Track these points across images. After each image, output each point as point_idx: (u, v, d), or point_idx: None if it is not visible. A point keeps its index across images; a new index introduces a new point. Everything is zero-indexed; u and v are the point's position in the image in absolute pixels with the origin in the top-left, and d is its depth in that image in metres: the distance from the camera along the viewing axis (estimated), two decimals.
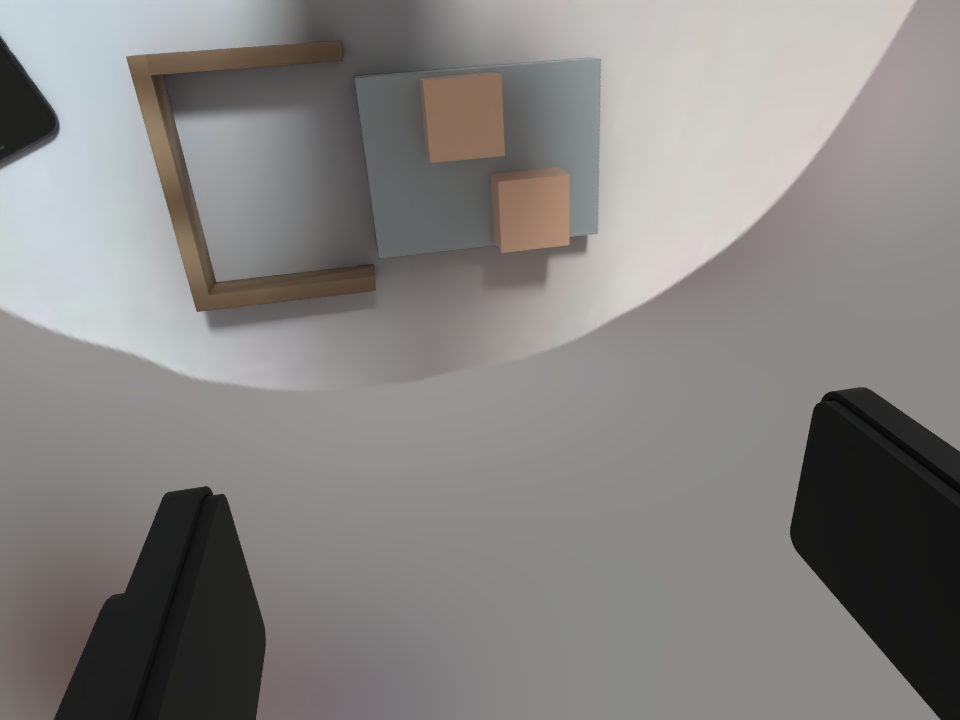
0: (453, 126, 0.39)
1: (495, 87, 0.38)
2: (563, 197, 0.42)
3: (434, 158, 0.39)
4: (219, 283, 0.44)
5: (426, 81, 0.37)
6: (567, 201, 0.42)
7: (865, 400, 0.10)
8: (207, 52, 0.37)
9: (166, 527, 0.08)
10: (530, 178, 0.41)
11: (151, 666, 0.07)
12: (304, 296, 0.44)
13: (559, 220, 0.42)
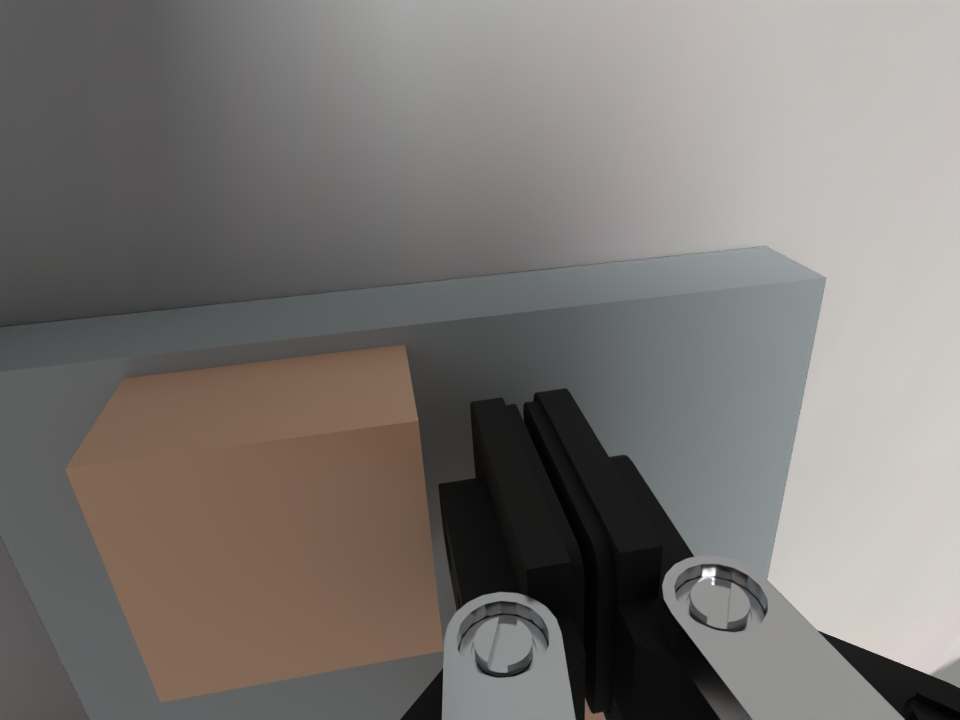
0: (231, 595, 0.10)
1: (395, 464, 0.09)
2: None
3: (173, 690, 0.10)
4: None
5: (82, 470, 0.08)
6: None
7: (555, 400, 0.10)
8: None
9: (493, 424, 0.10)
10: None
11: None
12: None
13: None
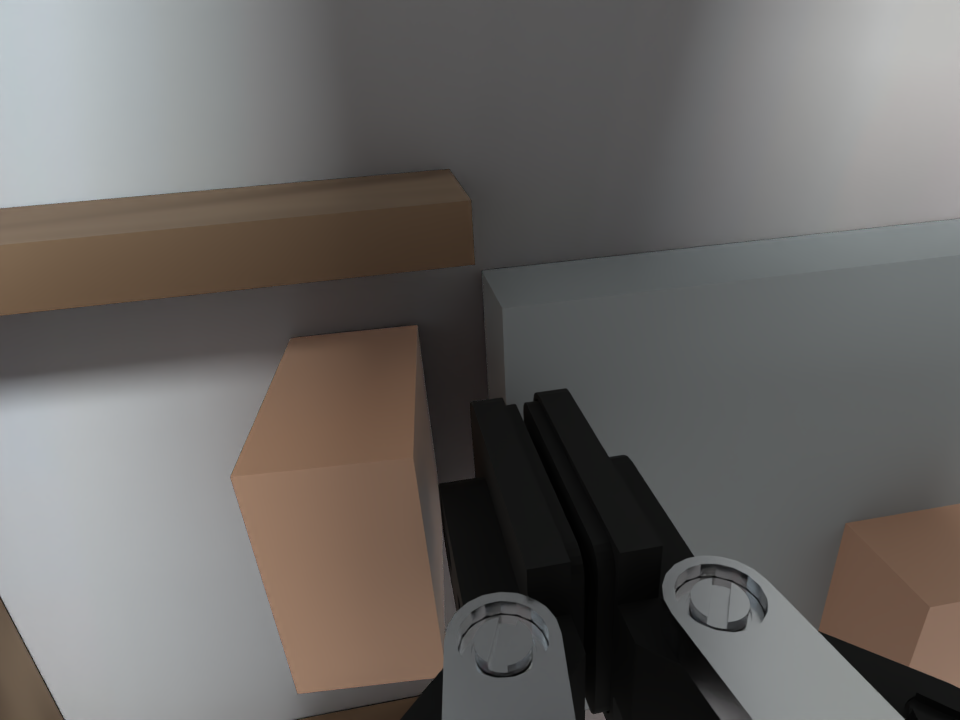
0: None
1: None
2: None
3: None
4: None
5: (288, 344, 0.13)
6: None
7: (556, 400, 0.10)
8: None
9: (492, 424, 0.10)
10: None
11: (549, 513, 0.08)
12: None
13: None
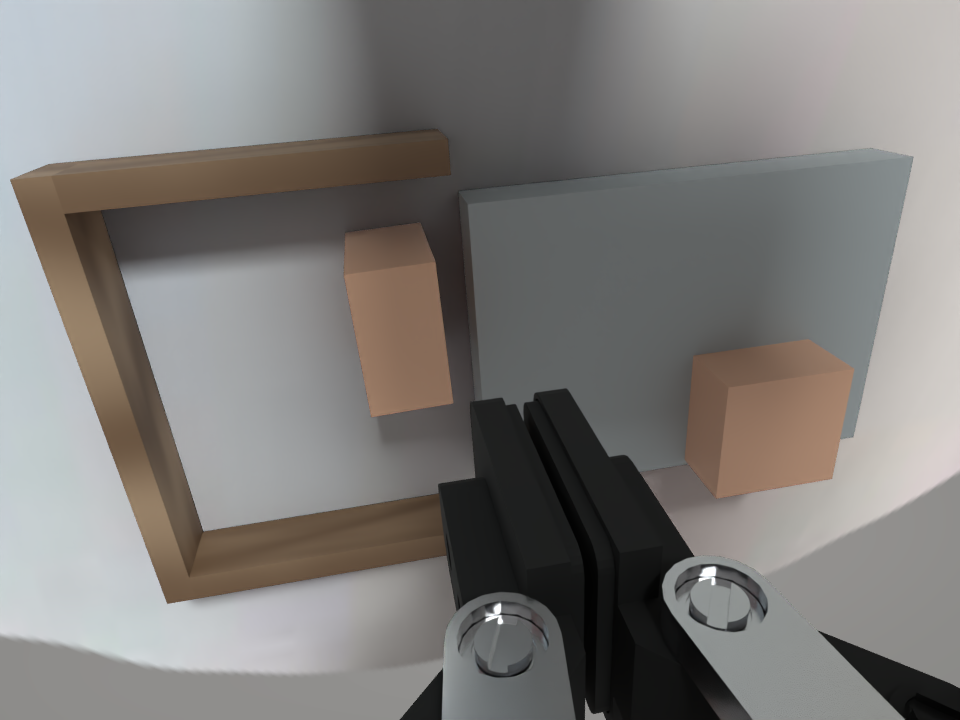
0: None
1: None
2: (836, 405, 0.23)
3: None
4: (208, 535, 0.26)
5: (345, 235, 0.22)
6: (842, 411, 0.23)
7: (556, 400, 0.10)
8: (180, 167, 0.18)
9: (492, 424, 0.10)
10: (784, 377, 0.22)
11: (549, 513, 0.08)
12: (358, 566, 0.25)
13: (822, 442, 0.23)
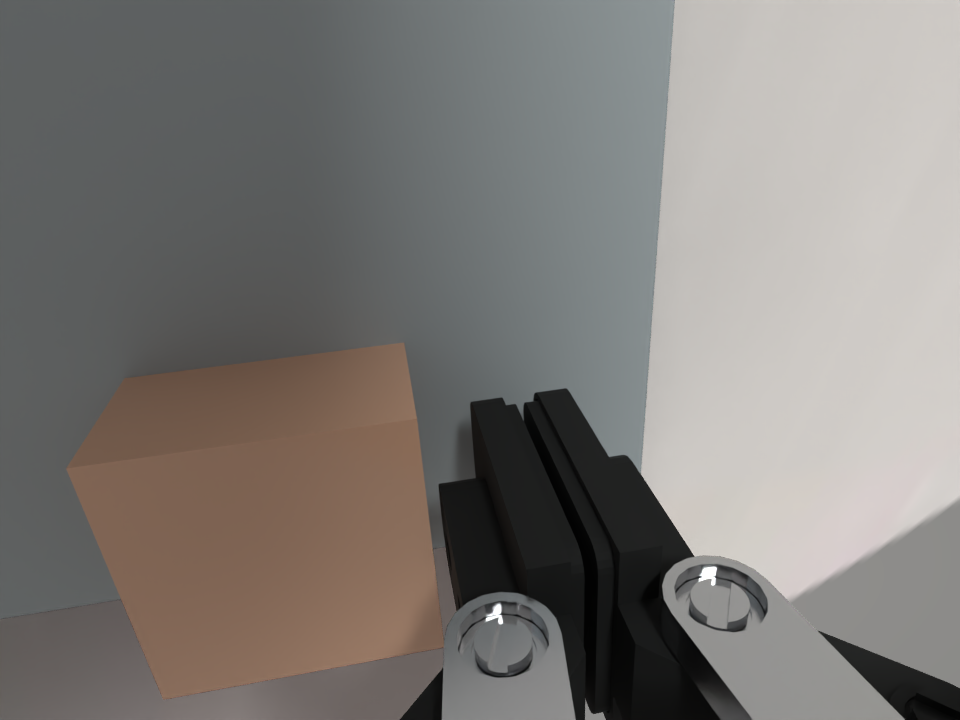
0: None
1: None
2: (397, 501, 0.10)
3: None
4: None
5: None
6: (419, 515, 0.10)
7: (555, 401, 0.10)
8: None
9: (492, 424, 0.10)
10: (233, 441, 0.09)
11: None
12: None
13: (392, 579, 0.10)
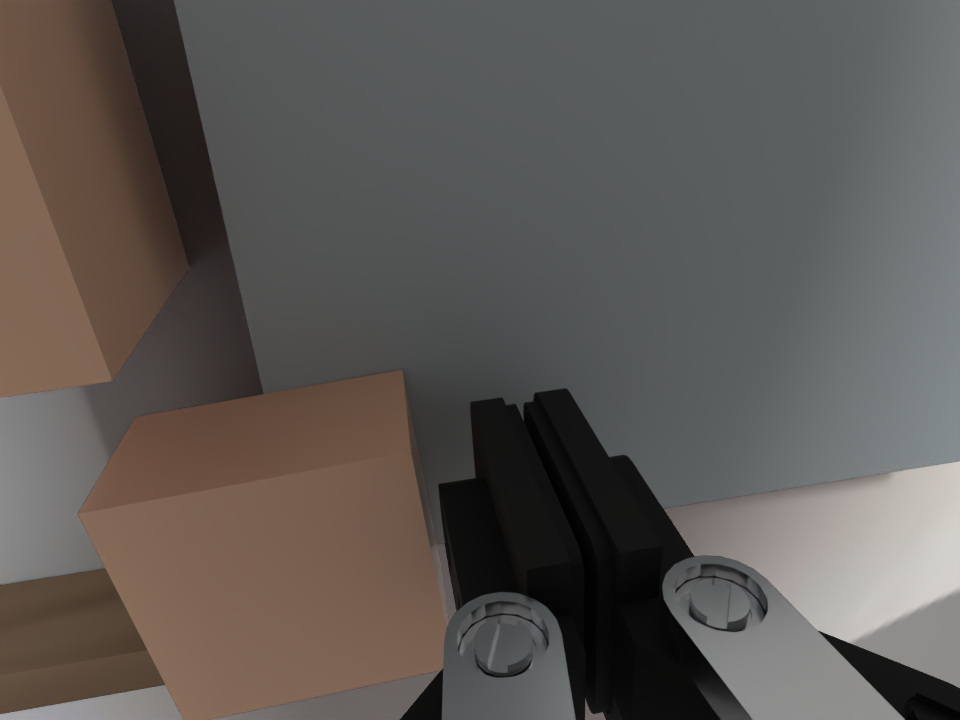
0: None
1: None
2: (397, 530, 0.10)
3: None
4: None
5: None
6: (420, 542, 0.10)
7: (556, 401, 0.10)
8: None
9: (492, 424, 0.10)
10: (235, 480, 0.09)
11: None
12: (43, 699, 0.13)
13: (397, 604, 0.10)
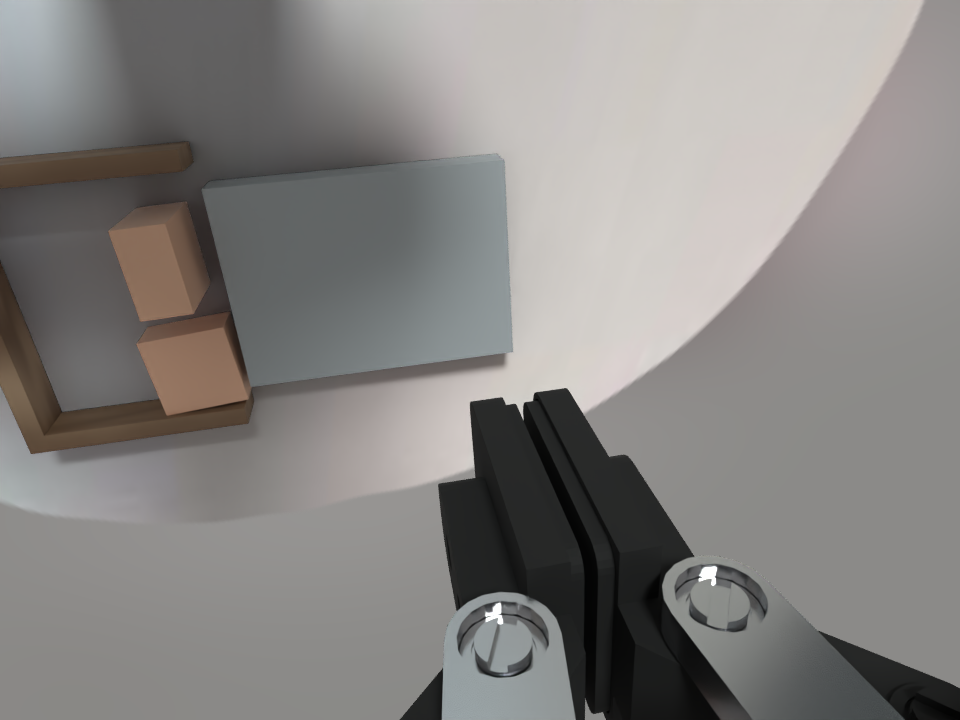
0: None
1: None
2: (223, 351, 0.36)
3: None
4: (64, 414, 0.38)
5: (135, 209, 0.34)
6: (230, 355, 0.36)
7: (555, 400, 0.10)
8: (9, 166, 0.30)
9: (492, 424, 0.10)
10: (176, 335, 0.35)
11: (549, 513, 0.08)
12: (161, 432, 0.37)
13: (226, 375, 0.36)
